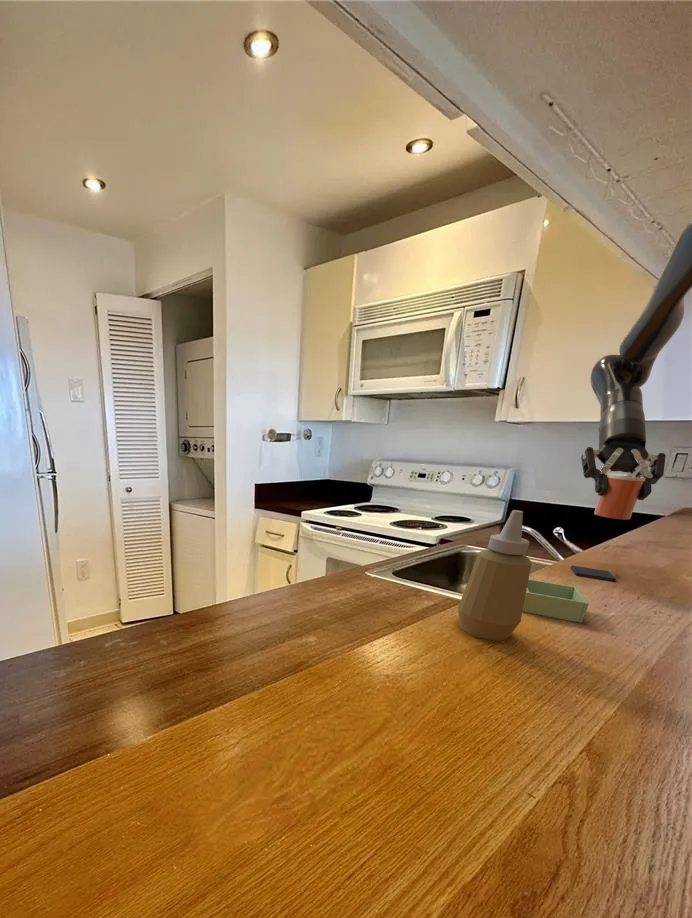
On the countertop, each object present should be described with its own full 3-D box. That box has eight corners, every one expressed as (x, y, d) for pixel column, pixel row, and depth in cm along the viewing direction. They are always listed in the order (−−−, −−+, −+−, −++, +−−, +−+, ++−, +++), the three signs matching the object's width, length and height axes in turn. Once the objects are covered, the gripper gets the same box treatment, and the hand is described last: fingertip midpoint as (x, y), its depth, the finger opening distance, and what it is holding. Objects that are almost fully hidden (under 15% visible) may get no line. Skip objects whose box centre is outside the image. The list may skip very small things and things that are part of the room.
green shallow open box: (569, 609, 80) (577, 587, 78) (580, 628, 73) (589, 603, 71) (514, 599, 83) (520, 577, 81) (519, 616, 76) (526, 592, 74)
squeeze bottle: (454, 642, 65) (488, 512, 58) (449, 620, 72) (479, 502, 66) (519, 654, 63) (562, 521, 56) (507, 630, 70) (544, 509, 63)
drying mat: (607, 573, 102) (608, 571, 102) (615, 581, 97) (616, 579, 97) (570, 567, 105) (571, 565, 104) (575, 575, 99) (576, 572, 99)
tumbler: (625, 515, 97) (640, 475, 94) (634, 521, 92) (650, 479, 89) (590, 511, 99) (603, 472, 96) (597, 516, 94) (611, 475, 91)
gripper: (590, 413, 97) (590, 479, 91) (674, 418, 93) (679, 487, 87) (574, 439, 104) (572, 502, 98) (651, 445, 100) (654, 511, 94)
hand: (622, 495), depth 92 cm, fingers closed on tumbler, 6 cm apart
